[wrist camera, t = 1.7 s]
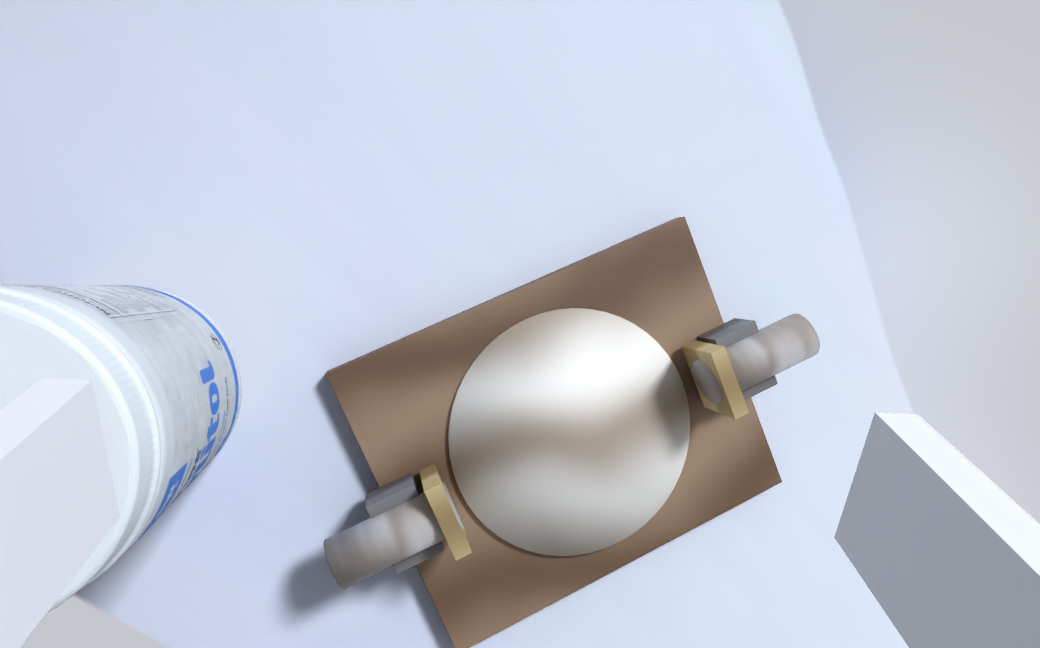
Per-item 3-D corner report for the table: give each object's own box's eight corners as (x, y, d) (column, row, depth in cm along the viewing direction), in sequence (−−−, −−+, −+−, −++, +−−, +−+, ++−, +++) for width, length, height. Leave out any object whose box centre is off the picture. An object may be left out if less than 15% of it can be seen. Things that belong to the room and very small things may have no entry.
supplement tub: (240, 487, 33) (137, 653, 18) (19, 485, 31) (-293, 671, 16) (250, 288, 32) (152, 300, 18) (25, 273, 30) (-292, 272, 16)
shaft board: (268, 396, 33) (252, 416, 28) (723, 197, 37) (771, 186, 32) (403, 671, 35) (407, 729, 31) (814, 454, 39) (871, 477, 35)
